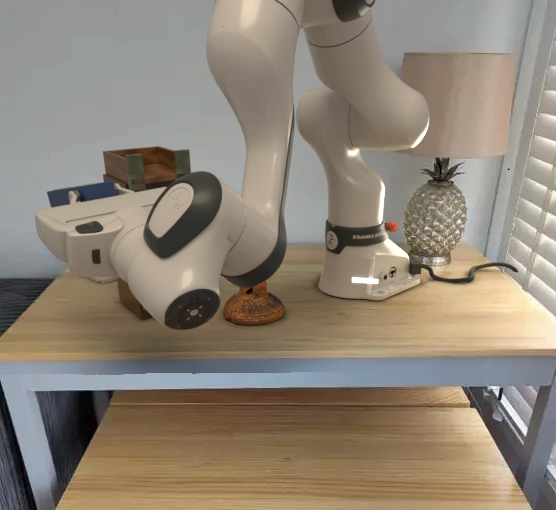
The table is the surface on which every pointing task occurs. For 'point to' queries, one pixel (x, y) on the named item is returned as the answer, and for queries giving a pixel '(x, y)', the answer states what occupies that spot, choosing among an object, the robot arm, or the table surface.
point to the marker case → (88, 190)
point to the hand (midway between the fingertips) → (93, 191)
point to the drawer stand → (143, 187)
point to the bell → (253, 306)
